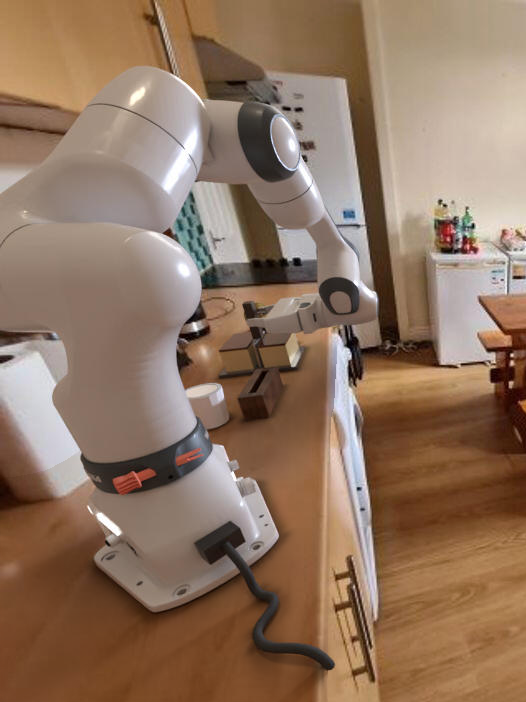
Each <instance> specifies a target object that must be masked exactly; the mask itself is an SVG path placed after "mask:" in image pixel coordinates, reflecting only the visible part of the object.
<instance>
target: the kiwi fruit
mask: <svg viewBox="0 0 526 702" xmlns="http://www.w3.org/2000/svg"><path fill="white" fill-rule="evenodd" d="M254 304H255V307H256V310H257V309H258V307H265V306H266V305H265V304H264V303H262V302H261V303H260V302H256V301H255V302H254ZM266 316H267V314H266V315H258V317H259V318H262V317H266ZM243 318H244V320H245V321H246V320H247V318H246V315H245V312H244V311H243ZM262 330H263V331H265V334H267V332H266V329H265V327H264V328H263V327H262Z"/></svg>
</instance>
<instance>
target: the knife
mask: <svg viewBox="0 0 526 702" xmlns="http://www.w3.org/2000/svg"><path fill="white" fill-rule="evenodd" d="M254 303H255V301H254V300H249V301H246V300H245V301H243V303H242V304H241V306H242V309H243V313H244V312H245V315H246V318H247V319H248V318H254V317H256V318H259V317H258V314H257V310H256V307H255V304H254ZM248 328H249V330H250V331H249V332H251V334H252V337H253V339H256V340H255V341H254V343H253V344H252V346H253V349H254V352H255V355H256V358H257V361H258V364H259V367H262V365H263V361H262V358H261V355H260V352H259V348H258V345H259V344H260V342H261V341H262V340H263V338H264V337H265V336H266V334H267V333H265V331H263V330H262V327H256V326H254V327H249V326H248Z"/></svg>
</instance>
